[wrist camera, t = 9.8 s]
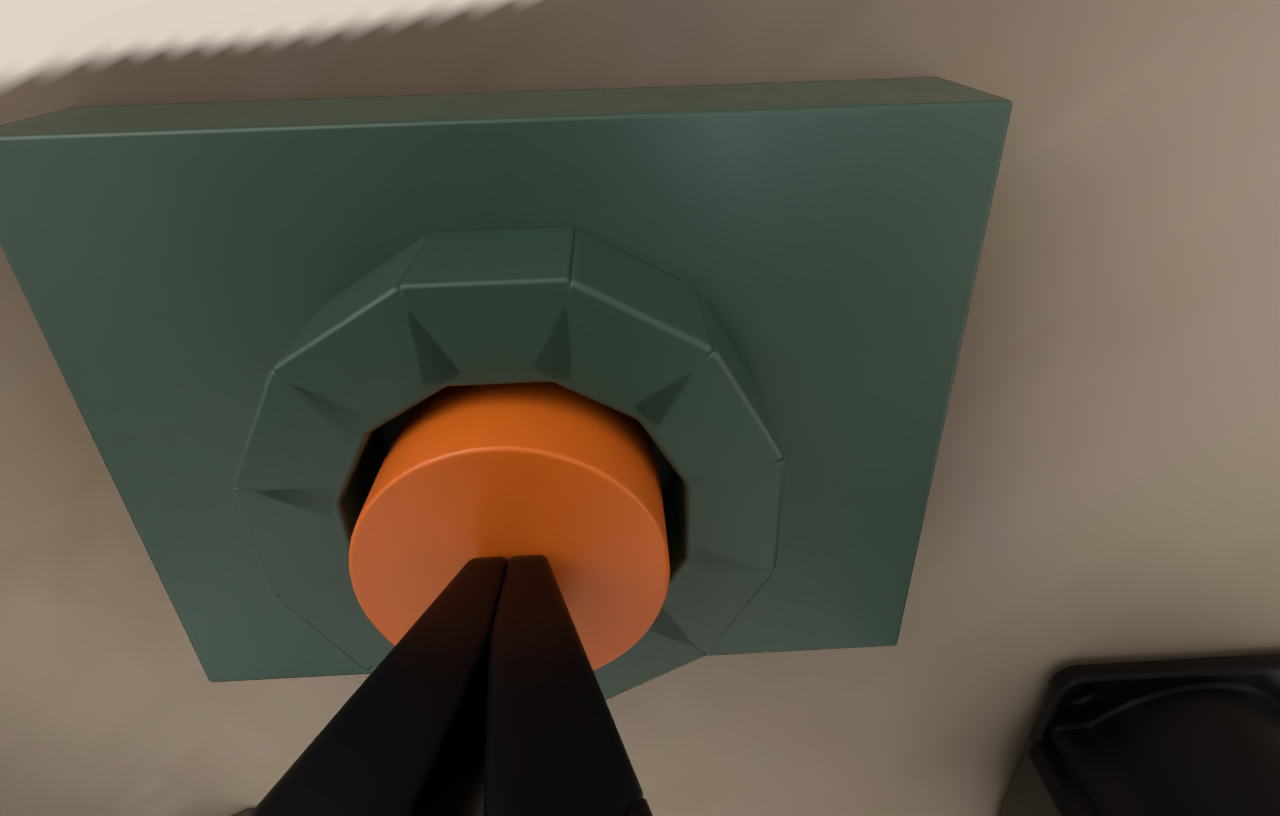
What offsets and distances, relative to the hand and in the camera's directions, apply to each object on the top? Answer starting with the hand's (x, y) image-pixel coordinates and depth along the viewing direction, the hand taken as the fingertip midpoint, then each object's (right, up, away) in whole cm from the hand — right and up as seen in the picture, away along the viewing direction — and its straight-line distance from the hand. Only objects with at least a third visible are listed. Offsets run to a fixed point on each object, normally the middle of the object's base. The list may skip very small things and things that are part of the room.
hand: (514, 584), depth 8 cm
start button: (0, +1, +1) cm, 2 cm away
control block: (0, +2, +4) cm, 5 cm away
